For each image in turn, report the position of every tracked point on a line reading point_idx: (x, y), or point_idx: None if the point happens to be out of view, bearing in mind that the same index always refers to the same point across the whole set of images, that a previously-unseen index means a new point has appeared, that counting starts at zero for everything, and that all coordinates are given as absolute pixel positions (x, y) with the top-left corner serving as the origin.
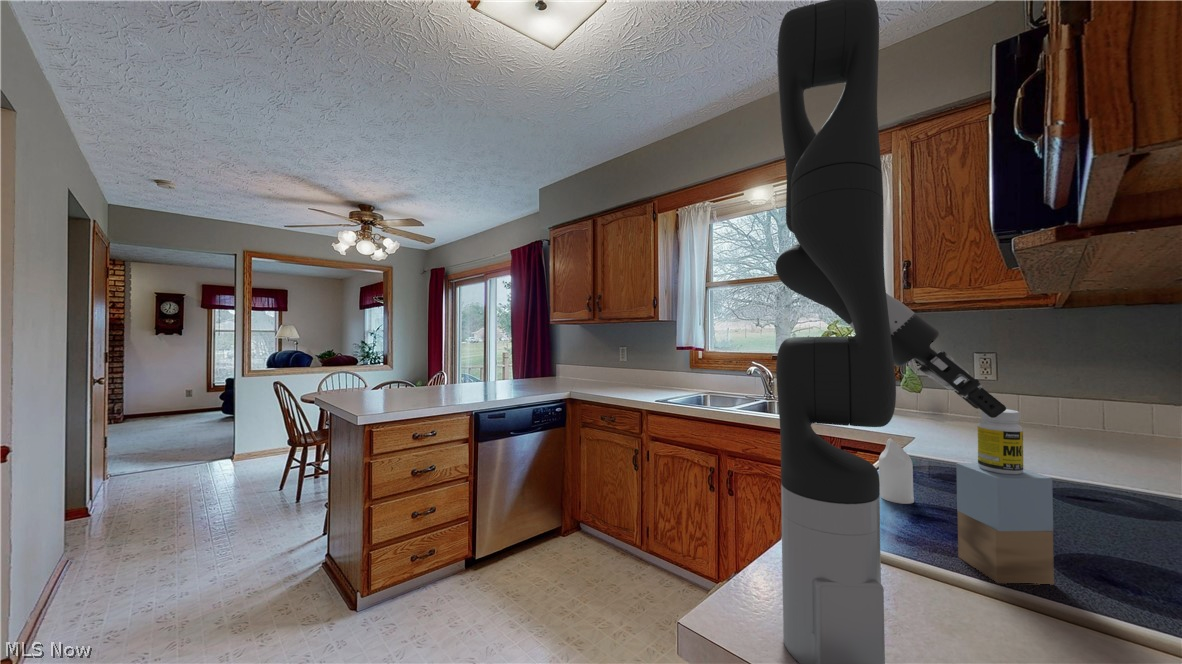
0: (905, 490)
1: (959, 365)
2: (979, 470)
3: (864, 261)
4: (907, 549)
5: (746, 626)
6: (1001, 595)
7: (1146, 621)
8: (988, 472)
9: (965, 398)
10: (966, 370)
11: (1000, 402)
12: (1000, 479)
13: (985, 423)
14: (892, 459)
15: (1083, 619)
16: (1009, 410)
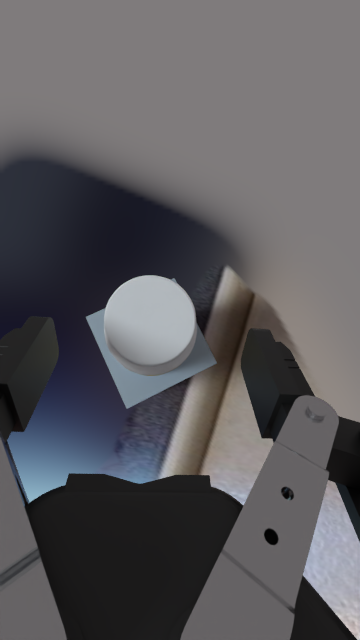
0: None
1: (316, 517)
2: (171, 379)
3: None
4: (138, 452)
5: None
6: (217, 373)
7: (210, 271)
8: (180, 367)
9: (40, 390)
10: (322, 469)
11: (273, 340)
12: (214, 358)
13: (169, 362)
14: None
15: (232, 318)
16: (144, 293)
